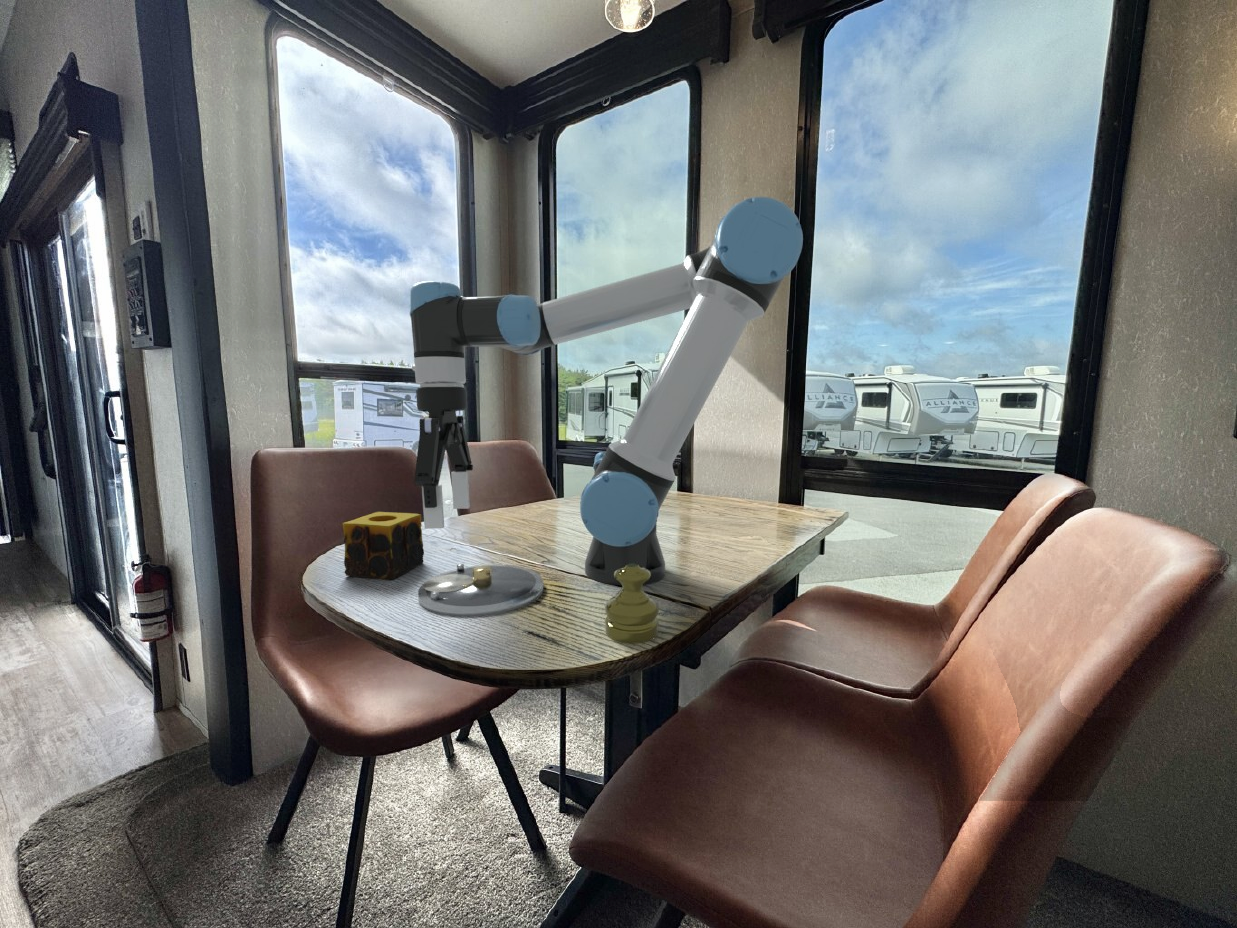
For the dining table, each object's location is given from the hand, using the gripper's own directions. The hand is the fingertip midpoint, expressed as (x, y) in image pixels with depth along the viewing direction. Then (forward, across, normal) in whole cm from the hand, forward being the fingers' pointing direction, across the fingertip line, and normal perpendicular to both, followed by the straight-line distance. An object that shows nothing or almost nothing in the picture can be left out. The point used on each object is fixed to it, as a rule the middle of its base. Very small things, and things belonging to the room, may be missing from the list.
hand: (449, 517), depth 83 cm
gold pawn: (+14, +15, +29) cm, 36 cm away
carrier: (+13, 0, +5) cm, 14 cm away
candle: (+13, -11, -16) cm, 23 cm away
